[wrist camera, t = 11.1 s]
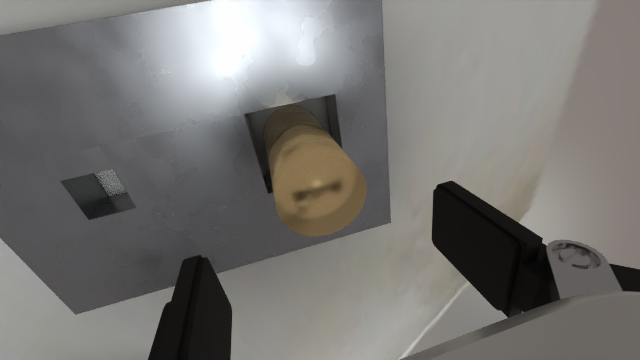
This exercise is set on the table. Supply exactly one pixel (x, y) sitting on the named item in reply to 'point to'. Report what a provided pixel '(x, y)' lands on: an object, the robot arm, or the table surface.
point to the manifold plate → (176, 137)
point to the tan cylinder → (311, 174)
